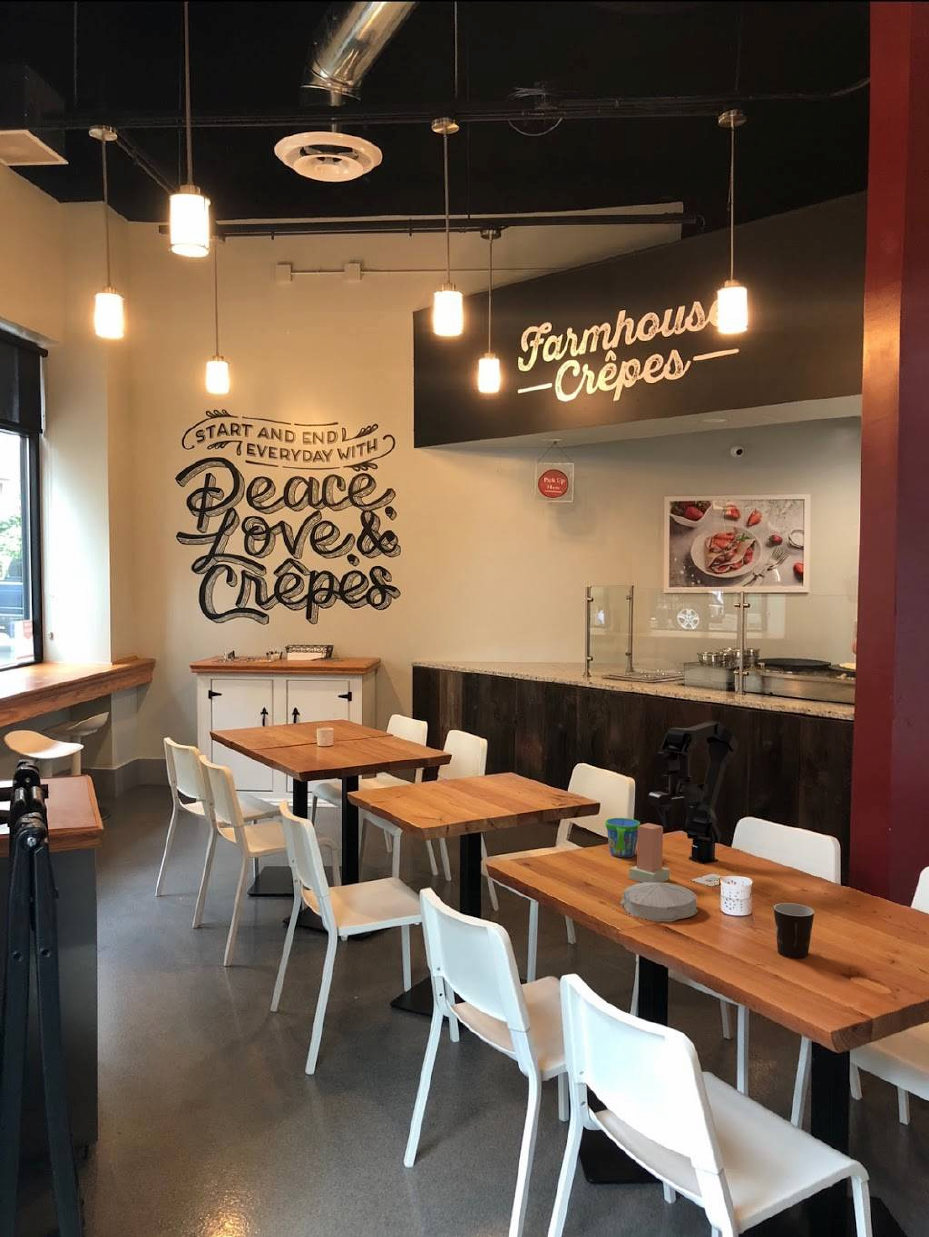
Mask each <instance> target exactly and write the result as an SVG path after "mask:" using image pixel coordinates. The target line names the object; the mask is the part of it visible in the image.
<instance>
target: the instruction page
mask: <svg viewBox="0 0 929 1237" xmlns="http://www.w3.org/2000/svg"><path fill="white" fill-rule="evenodd" d="M701 877H702V878H701ZM720 877H724V876H722V875H719V874H716V873H710V874H706V875H704V876H703V875H702V876H700V877H696V878H692V879H691V880H692V881H691V882H693V881H695V882H694V883H697V882H698V884H700V883H701V885H704V886H707V885H708V886H707V887H710V886H711V888H712V887H716V886H719V878H720ZM714 880H715V881H714ZM717 880H718V881H717ZM714 883H715V884H714ZM715 885H716V886H715Z"/></svg>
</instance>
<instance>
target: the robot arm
mask: <svg viewBox="0 0 929 1237" xmlns="http://www.w3.org/2000/svg"><path fill="white" fill-rule="evenodd" d="M703 740H704V742H705V743H706V745H707V750H706V751H707V754H708V756H709V763H708V767H707V771H706V773H705V778H704V782H702V783H696V784H695V783H694V778H693V776H691V775H690V760H691V758H690V757H692V756H693V755H694V752H693V751H692V750H691V749H692V748H694V747H695V746H696V744H697V743H698V742H700V741H703ZM738 749H739V741H738V740H737V739H736V737H735V735H734V734H733V733H732V732H731V731H729V730H728V729H727V728H725V727H724V725H723V723H721V722H719V721H711V720H706V721H704V722H703V723H700V724H695V725H693V726H689V727H687V728H685V727H681V728H680V727H670V728H669V729H668V730H667V732H666V733H665V735H664V738H663V741H662V744H661V745H660V748H659V751H658V752H657V756H656V757H654V758H653V760H652V761H651V771H652V772H653V773H654V775H656V776H658V777H660V778H661V777H665V778H666V779H668V787H667V788H665V792H663V791H660V790H659V791H652V792H651V791H650V792H649V793H648V794H647V802H648V803H650V804H651V805H653V806H654V808H655V810H656V811H657V813H658V816H659V818H660V820H661V823H662V825H663V828H665V829H667V828H668V827H669V817H670V810H671V808H672V806H673V805H671V804H672V801H677V800H683V799H684V802H685V811H686V819H685V820H686V821H685V824H684V825H685V831H686V836H687V839H691V840H692V841H691V842H692V845H691V852H690V853H691V854H690V856H688V860H690V861H691V860H692V861H693V862H694V861H695V862H697V863H699V864H702V865H704V864H710V863H715V862H719V859H718V858H716V844H719V843H720V841H721V839H722V833H721V831H720V830H719V828H718V826H717V822H718V821H717V820H718V819H717V817H716V813H715V808H716V804H717V801H718V798H719V797H718V796H719V793H720V790H721V785H722V782H723V779H724V775H725V771H726V767H727V765H728V764H730V762H732V761H733V760H734V759H735V755H736V753H737V751H738Z"/></svg>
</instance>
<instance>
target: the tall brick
mask: <svg viewBox="0 0 929 1237" xmlns="http://www.w3.org/2000/svg"><path fill="white" fill-rule="evenodd" d="M663 841H664V825H663V826H662V825H658V824H655V823H650V822H647V823H643V824H640V825H639V826H638V838H637V844H636V866H637V869H641V870H645V871H648V872H654V871H657V870H660V869H662V867H663V853H664V852H663V850H664V849H663V847H664V846H663V845H664V844H663V843H664V842H663Z"/></svg>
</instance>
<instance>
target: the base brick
mask: <svg viewBox="0 0 929 1237" xmlns="http://www.w3.org/2000/svg"><path fill="white" fill-rule="evenodd" d="M628 870H629V875H628V878H629V880H630V881H631V880H632V881H635V882H638V883H644V882H648V883H649V882H652V883H654V882H656V883H659V882H660V883H665V882H667V881H669V880H670V876H671V873H670V872H671V871H670V870H671V869H670V868H668V867H665V866H662V869H660V870H657V871H654V872H648V871H645V870H641V869H637V865H635V866H633V867H630V868H629V869H628Z"/></svg>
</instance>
